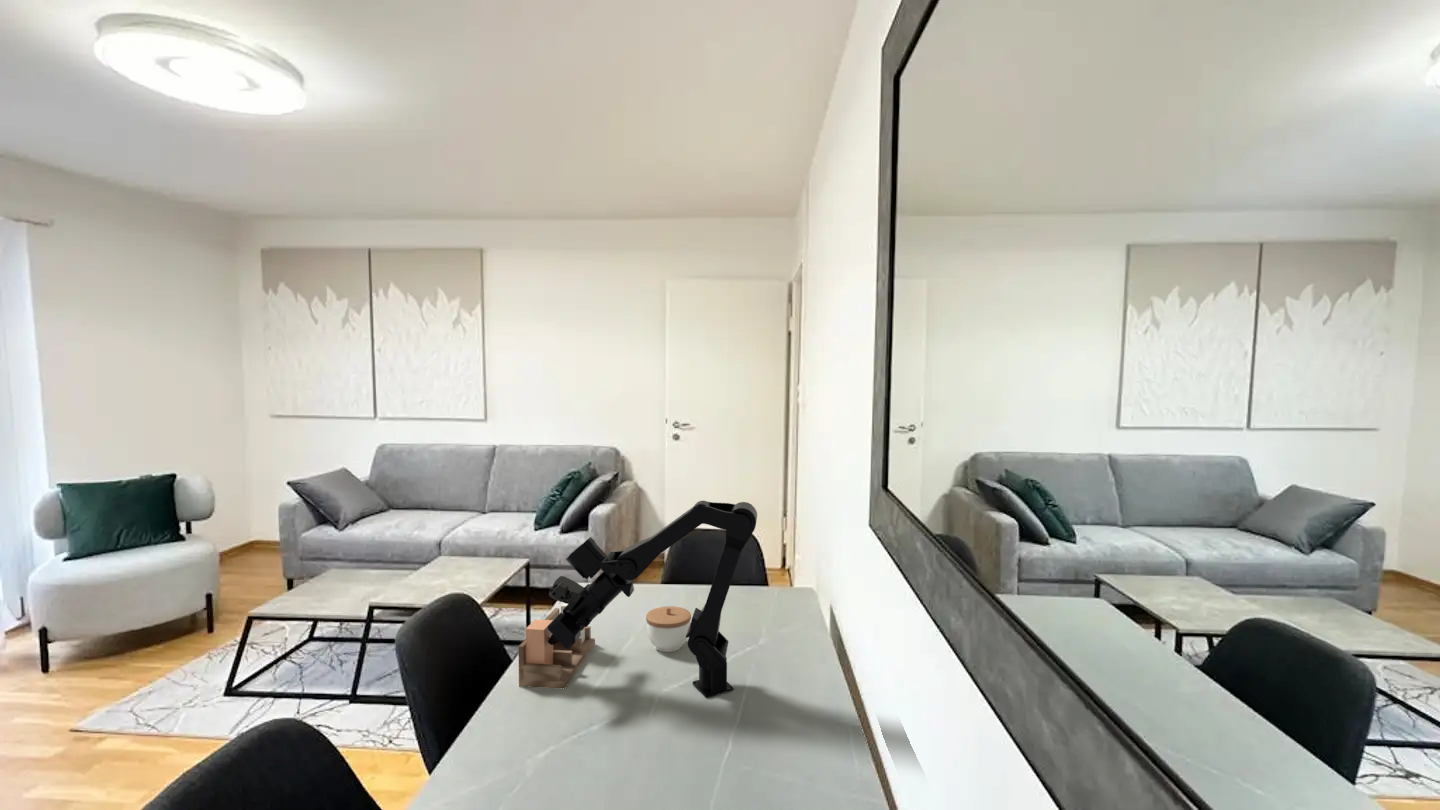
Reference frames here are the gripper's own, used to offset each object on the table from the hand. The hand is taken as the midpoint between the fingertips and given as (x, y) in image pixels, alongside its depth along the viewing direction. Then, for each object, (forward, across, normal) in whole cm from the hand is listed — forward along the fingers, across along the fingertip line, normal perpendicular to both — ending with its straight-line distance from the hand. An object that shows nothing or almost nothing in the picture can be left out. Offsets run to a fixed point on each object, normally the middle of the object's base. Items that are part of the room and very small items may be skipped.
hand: (549, 642), depth 128 cm
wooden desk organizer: (+6, -7, +5) cm, 10 cm away
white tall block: (+4, -13, +5) cm, 14 cm away
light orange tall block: (+6, 0, +3) cm, 7 cm away
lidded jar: (-10, -18, +22) cm, 30 cm away
